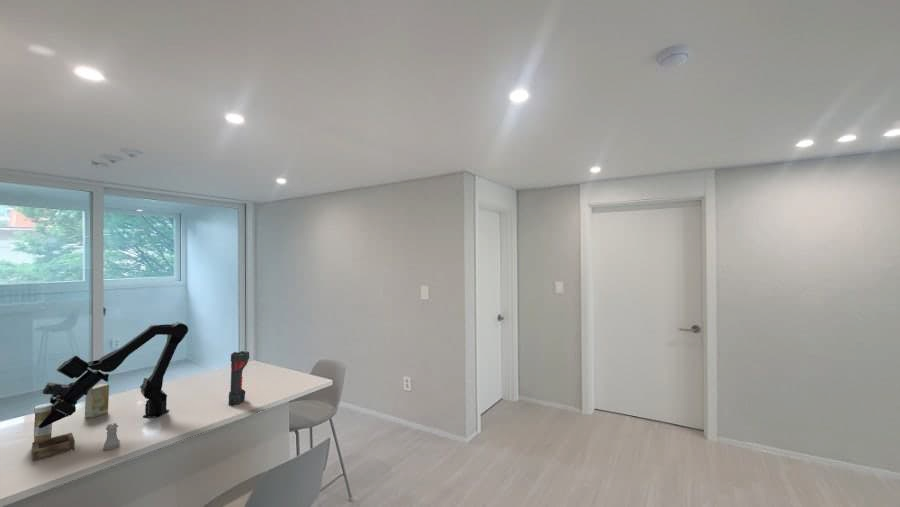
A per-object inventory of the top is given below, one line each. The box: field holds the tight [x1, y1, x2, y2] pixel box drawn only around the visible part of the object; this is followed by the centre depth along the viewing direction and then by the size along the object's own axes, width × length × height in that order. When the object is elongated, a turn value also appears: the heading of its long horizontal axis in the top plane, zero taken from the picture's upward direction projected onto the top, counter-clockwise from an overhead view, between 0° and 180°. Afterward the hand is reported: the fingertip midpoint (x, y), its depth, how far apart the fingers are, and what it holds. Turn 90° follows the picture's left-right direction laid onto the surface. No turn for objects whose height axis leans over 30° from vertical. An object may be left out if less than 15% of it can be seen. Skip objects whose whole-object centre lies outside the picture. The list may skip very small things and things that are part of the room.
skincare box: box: [84, 383, 110, 419], centre depth 156 cm, size 6×4×12 cm
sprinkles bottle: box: [33, 402, 53, 442], centre depth 133 cm, size 5×5×13 cm
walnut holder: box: [31, 432, 76, 462], centre depth 127 cm, size 10×10×3 cm
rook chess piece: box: [102, 422, 121, 451], centre depth 129 cm, size 4×4×8 cm
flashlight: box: [228, 350, 250, 406], centre depth 171 cm, size 8×8×23 cm
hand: (39, 423), depth 132 cm, fingers open, 9 cm apart
